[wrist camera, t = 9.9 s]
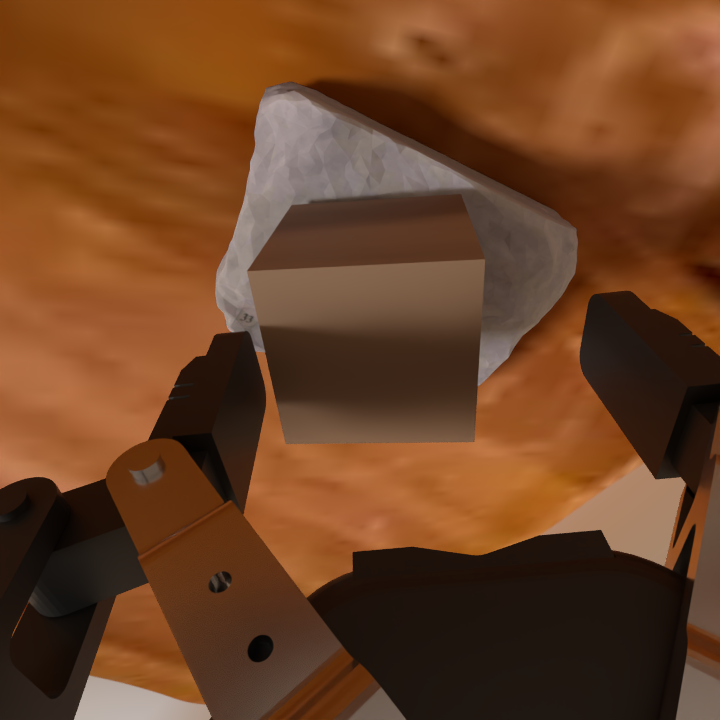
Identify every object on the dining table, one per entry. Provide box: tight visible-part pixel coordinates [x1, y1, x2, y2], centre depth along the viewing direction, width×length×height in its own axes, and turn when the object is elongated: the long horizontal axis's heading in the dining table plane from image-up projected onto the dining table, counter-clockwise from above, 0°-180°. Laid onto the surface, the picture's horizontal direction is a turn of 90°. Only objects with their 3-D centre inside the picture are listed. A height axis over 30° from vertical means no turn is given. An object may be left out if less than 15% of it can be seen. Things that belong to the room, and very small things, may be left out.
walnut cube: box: [247, 194, 485, 444], centre depth 14 cm, size 5×5×5 cm
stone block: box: [215, 82, 578, 386], centre depth 18 cm, size 12×5×10 cm
